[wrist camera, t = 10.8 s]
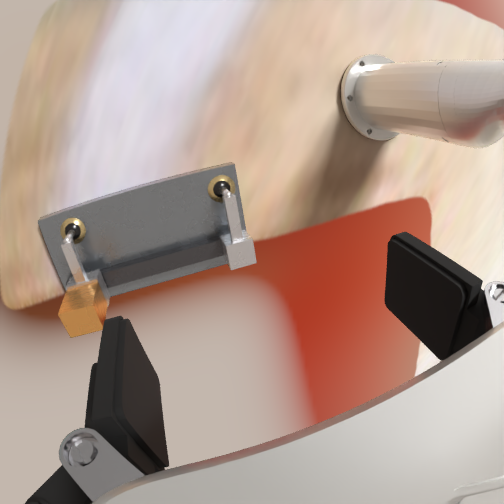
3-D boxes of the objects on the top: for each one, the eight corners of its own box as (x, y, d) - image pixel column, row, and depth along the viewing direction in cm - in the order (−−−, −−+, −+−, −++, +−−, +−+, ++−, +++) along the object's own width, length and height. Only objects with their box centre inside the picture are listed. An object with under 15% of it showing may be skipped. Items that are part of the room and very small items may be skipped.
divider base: (231, 162, 37) (246, 170, 32) (247, 252, 42) (262, 272, 37) (41, 217, 32) (25, 234, 27) (75, 301, 37) (67, 327, 32)
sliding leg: (86, 224, 32) (71, 254, 25) (110, 290, 36) (105, 331, 29) (56, 234, 31) (35, 266, 24) (82, 298, 35) (72, 340, 28)
